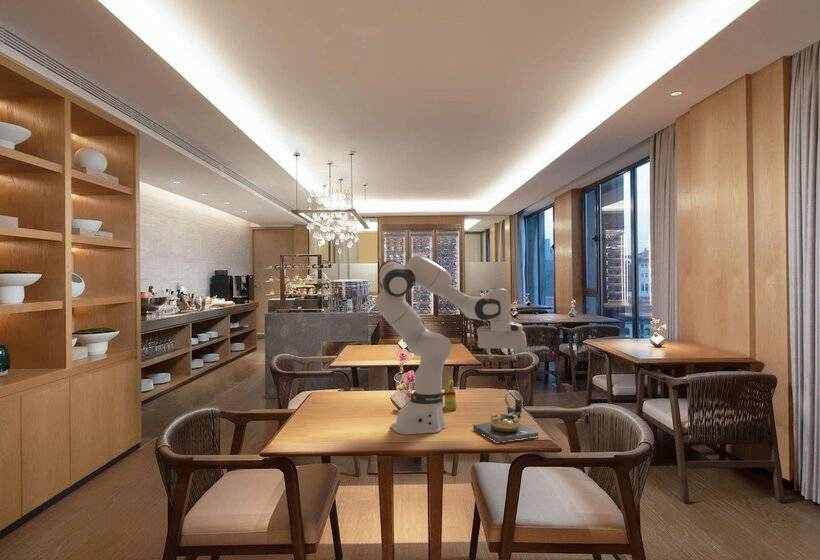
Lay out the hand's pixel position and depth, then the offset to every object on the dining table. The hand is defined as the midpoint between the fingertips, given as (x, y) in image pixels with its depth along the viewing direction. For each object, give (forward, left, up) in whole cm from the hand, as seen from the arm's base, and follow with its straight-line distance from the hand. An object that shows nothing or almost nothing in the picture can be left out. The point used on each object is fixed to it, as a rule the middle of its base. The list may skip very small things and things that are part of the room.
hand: (502, 358), depth 199 cm
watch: (+11, +8, -27) cm, 31 cm away
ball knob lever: (-3, -10, -25) cm, 27 cm away
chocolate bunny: (-10, +30, -27) cm, 42 cm away
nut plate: (-6, -12, -27) cm, 30 cm away
